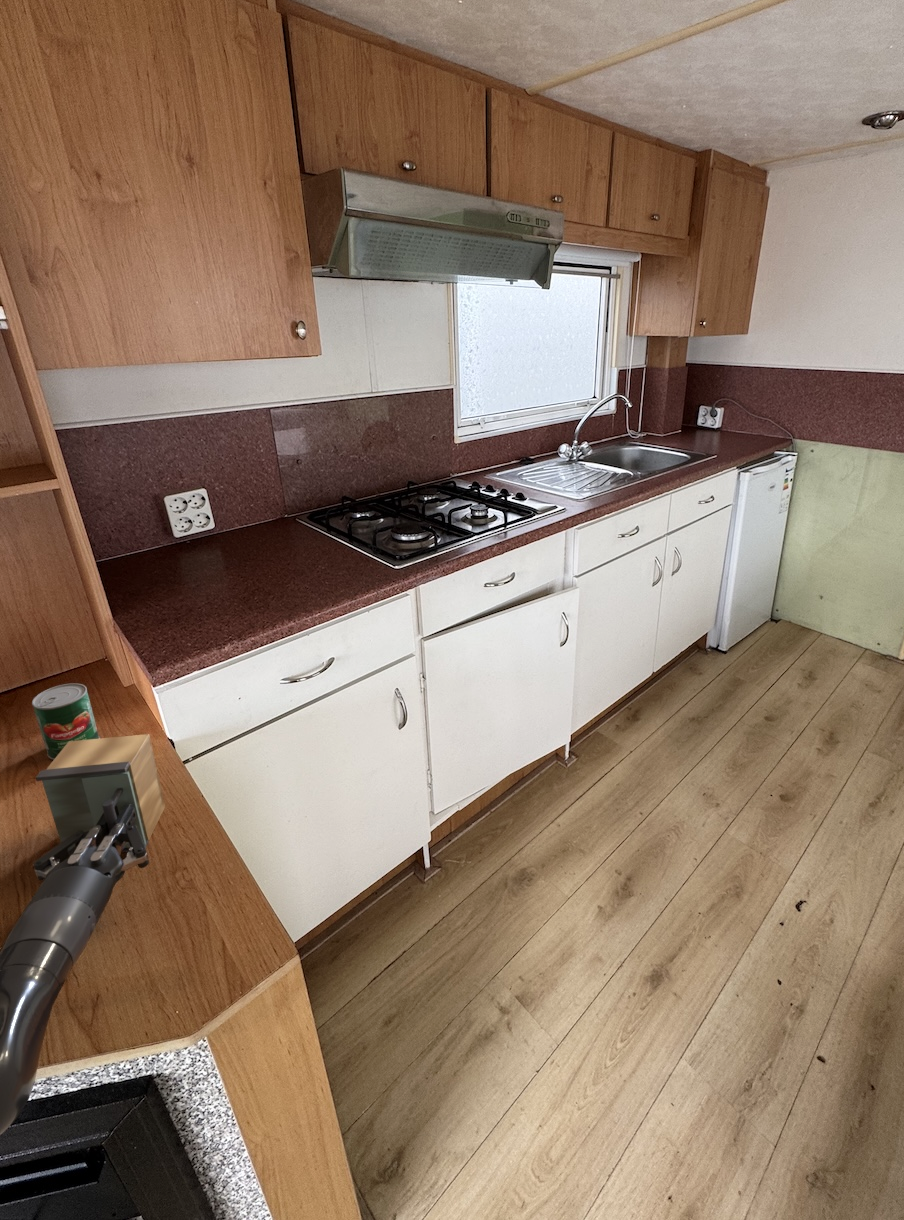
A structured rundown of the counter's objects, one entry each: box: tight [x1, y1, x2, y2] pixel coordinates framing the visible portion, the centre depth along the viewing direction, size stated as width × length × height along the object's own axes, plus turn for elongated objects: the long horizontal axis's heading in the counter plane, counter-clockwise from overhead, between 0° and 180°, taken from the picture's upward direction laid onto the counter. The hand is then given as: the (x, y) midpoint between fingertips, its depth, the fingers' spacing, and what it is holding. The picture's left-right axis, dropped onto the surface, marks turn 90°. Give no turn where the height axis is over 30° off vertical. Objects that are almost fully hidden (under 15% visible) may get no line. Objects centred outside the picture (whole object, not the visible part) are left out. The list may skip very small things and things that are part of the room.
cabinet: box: [35, 733, 166, 854], centre depth 85 cm, size 11×9×15 cm
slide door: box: [82, 772, 146, 851], centre depth 80 cm, size 6×5×13 cm
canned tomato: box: [31, 682, 101, 760], centre depth 104 cm, size 8×8×11 cm
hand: (122, 810), depth 81 cm, fingers closed
